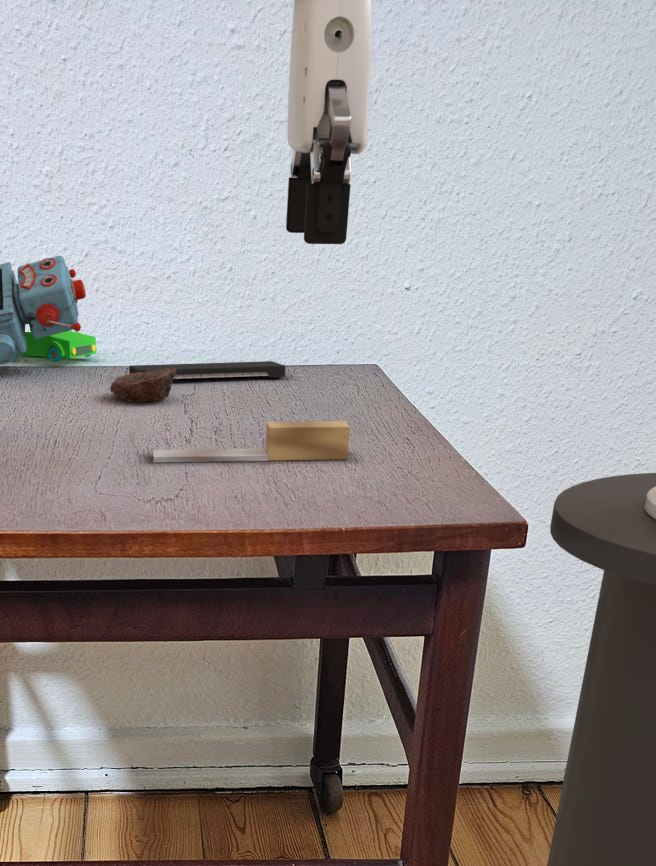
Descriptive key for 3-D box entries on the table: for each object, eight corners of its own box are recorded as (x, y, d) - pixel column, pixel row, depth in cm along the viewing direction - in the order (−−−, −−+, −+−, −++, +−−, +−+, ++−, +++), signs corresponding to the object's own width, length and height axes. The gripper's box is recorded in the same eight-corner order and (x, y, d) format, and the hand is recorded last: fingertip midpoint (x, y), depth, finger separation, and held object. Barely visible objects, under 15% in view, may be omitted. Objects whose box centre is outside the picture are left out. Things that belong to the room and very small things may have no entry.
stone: (162, 407, 123) (162, 375, 121) (98, 403, 125) (96, 371, 123) (183, 396, 128) (183, 365, 127) (121, 393, 130) (120, 362, 129)
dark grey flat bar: (285, 377, 137) (272, 372, 142) (285, 365, 137) (272, 361, 141) (138, 382, 134) (129, 377, 138) (137, 370, 133) (128, 365, 137)
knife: (342, 453, 106) (345, 420, 104) (348, 460, 103) (350, 426, 102) (152, 455, 105) (152, 422, 103) (153, 462, 103) (153, 429, 101)
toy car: (-3, 358, 149) (-8, 300, 146) (30, 352, 154) (27, 296, 151) (68, 364, 144) (65, 304, 141) (100, 357, 149) (98, 299, 146)
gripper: (410, -39, 79) (383, 249, 88) (360, -15, 93) (341, 229, 103) (298, -42, 78) (282, 248, 87) (266, -18, 93) (255, 228, 102)
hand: (314, 237), depth 95 cm, fingers open, 9 cm apart
